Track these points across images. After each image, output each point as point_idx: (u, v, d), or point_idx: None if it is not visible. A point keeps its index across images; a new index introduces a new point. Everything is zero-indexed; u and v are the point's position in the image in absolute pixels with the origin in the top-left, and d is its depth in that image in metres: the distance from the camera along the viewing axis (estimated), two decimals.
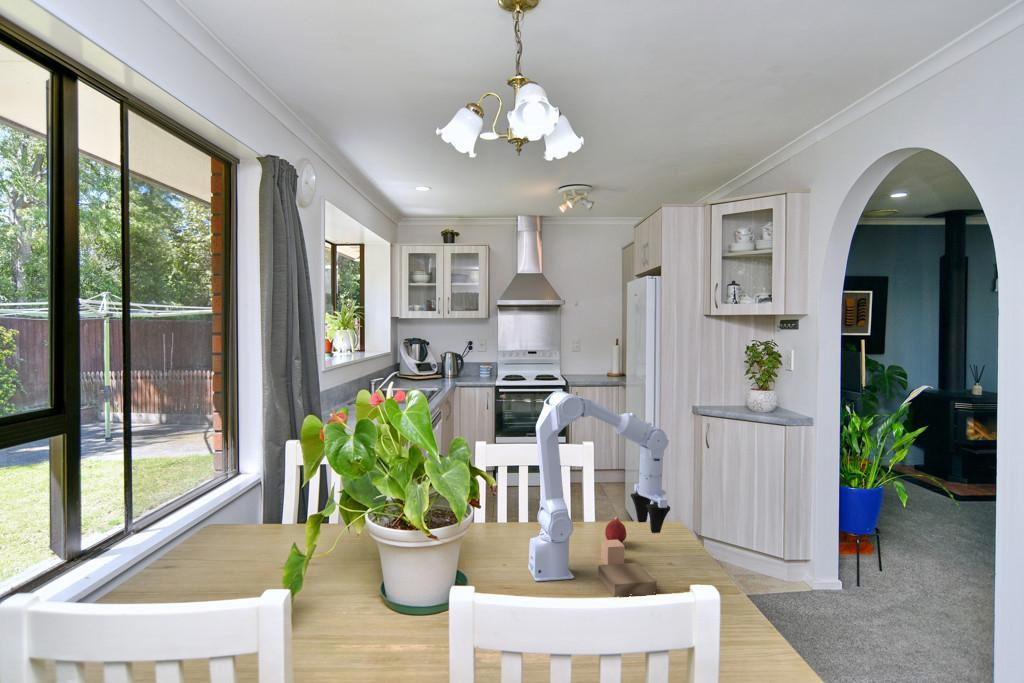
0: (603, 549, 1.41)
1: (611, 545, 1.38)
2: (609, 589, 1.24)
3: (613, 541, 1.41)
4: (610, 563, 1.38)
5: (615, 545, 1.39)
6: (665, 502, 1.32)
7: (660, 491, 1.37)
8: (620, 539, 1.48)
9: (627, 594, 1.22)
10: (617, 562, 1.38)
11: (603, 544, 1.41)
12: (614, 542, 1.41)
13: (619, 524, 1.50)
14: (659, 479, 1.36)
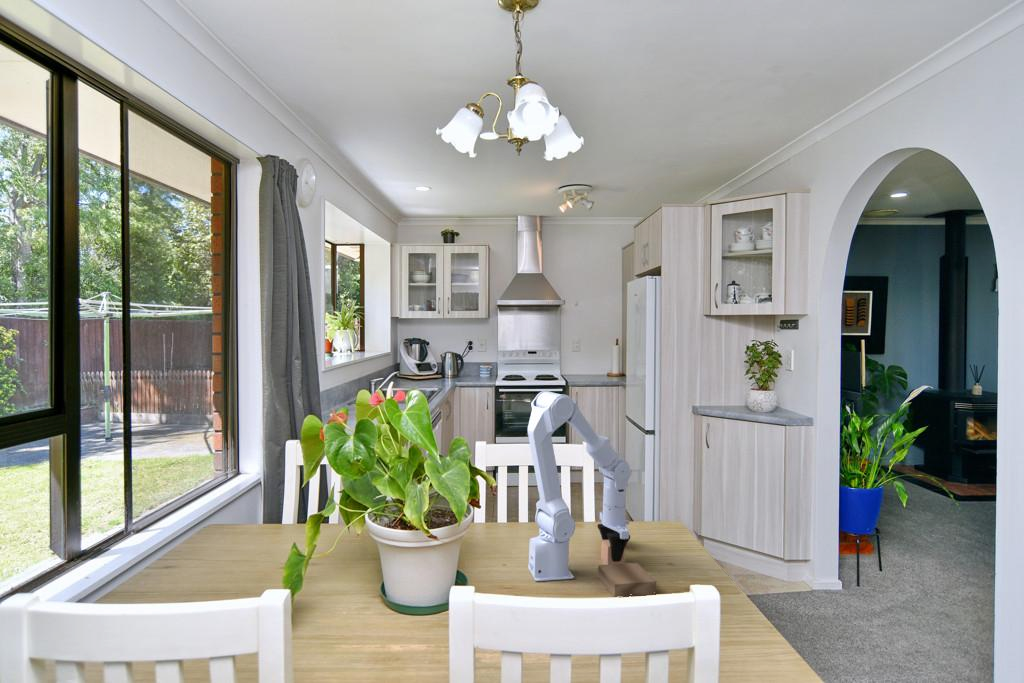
0: (603, 549, 1.41)
1: None
2: (609, 589, 1.24)
3: None
4: (610, 563, 1.38)
5: None
6: (627, 533, 1.33)
7: (623, 521, 1.38)
8: None
9: (627, 594, 1.22)
10: (617, 562, 1.38)
11: (603, 544, 1.41)
12: None
13: None
14: (622, 510, 1.38)
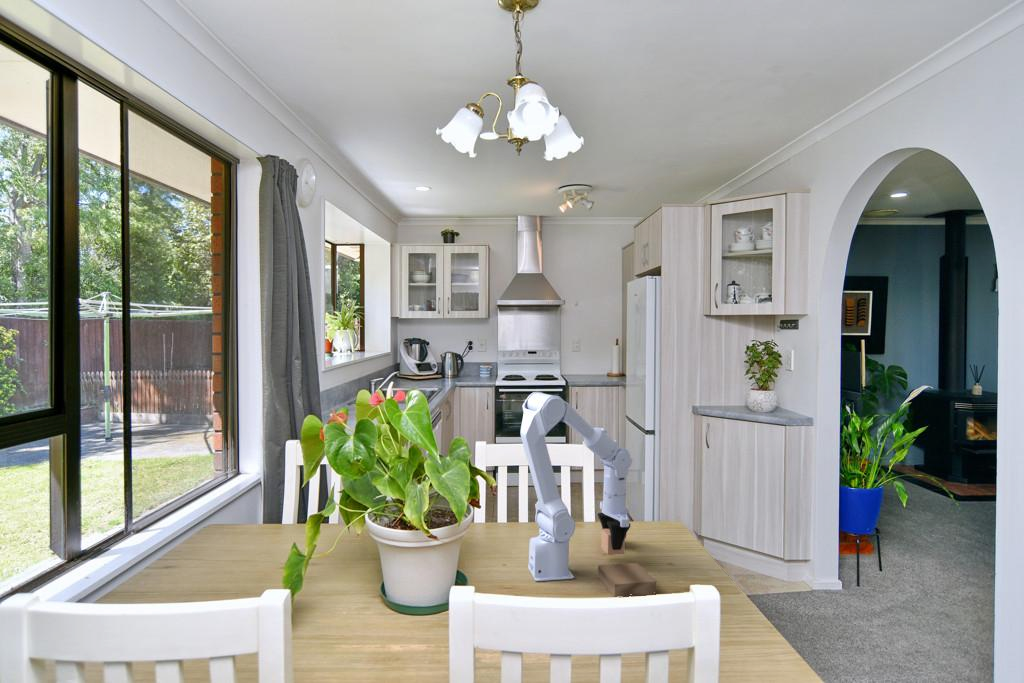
0: (603, 537, 1.41)
1: None
2: (609, 589, 1.24)
3: None
4: (610, 551, 1.38)
5: None
6: (627, 521, 1.33)
7: (623, 510, 1.38)
8: None
9: (627, 594, 1.22)
10: (617, 550, 1.38)
11: (603, 533, 1.41)
12: None
13: None
14: (622, 498, 1.38)
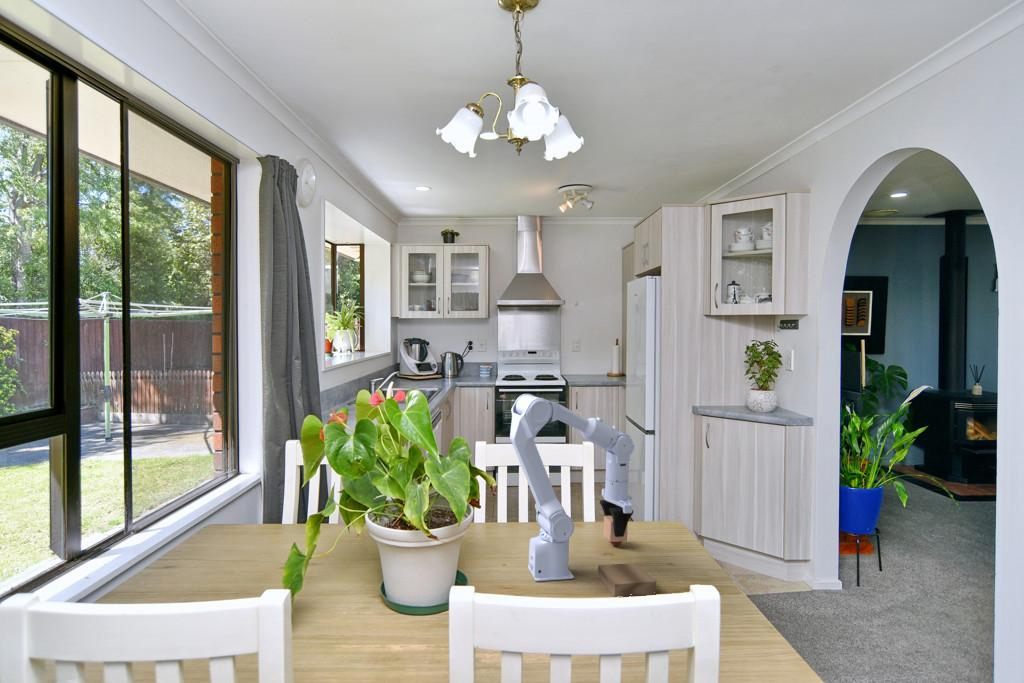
0: (605, 524, 1.39)
1: None
2: (609, 589, 1.24)
3: None
4: (613, 538, 1.36)
5: None
6: (630, 508, 1.31)
7: (626, 496, 1.36)
8: None
9: (627, 594, 1.22)
10: (620, 537, 1.36)
11: (605, 520, 1.39)
12: None
13: None
14: (625, 484, 1.36)
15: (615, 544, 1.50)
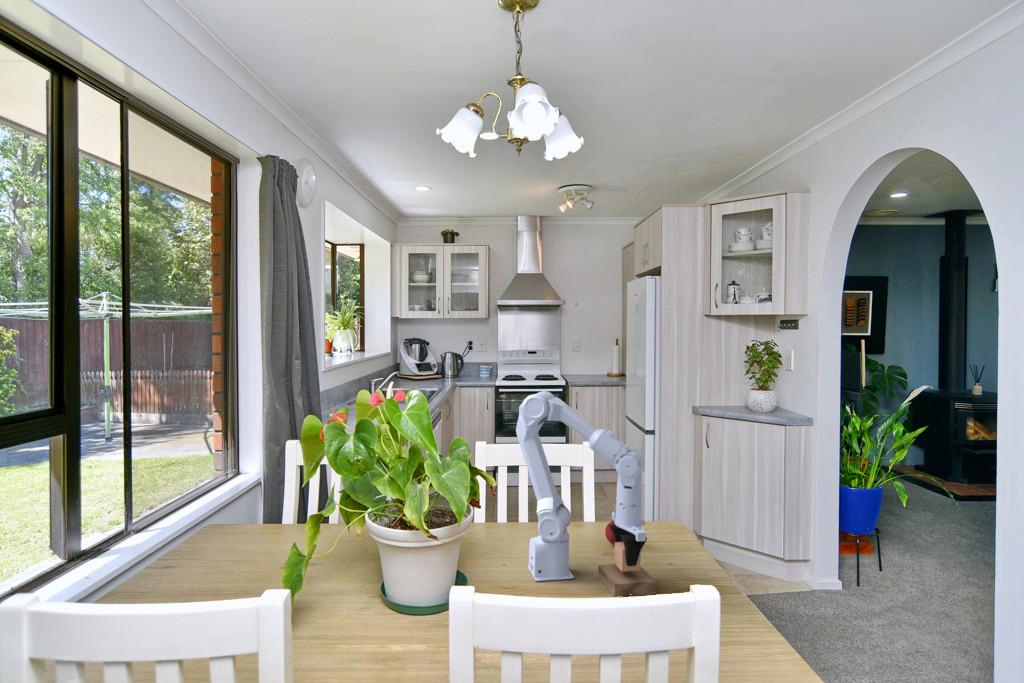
0: (616, 552, 1.27)
1: None
2: (609, 589, 1.24)
3: None
4: (625, 567, 1.25)
5: None
6: (643, 535, 1.20)
7: (639, 522, 1.25)
8: None
9: (627, 594, 1.22)
10: (632, 566, 1.25)
11: (616, 546, 1.28)
12: None
13: None
14: (637, 509, 1.25)
15: None
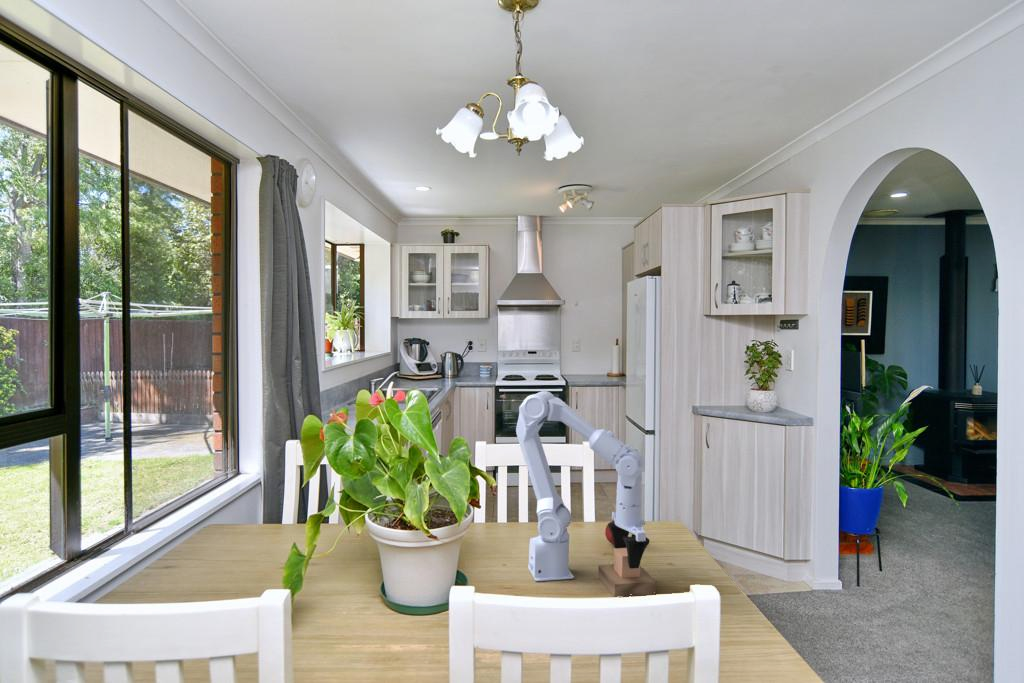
0: (616, 558, 1.27)
1: (626, 554, 1.25)
2: (609, 589, 1.24)
3: None
4: (624, 574, 1.25)
5: None
6: (643, 535, 1.20)
7: (639, 522, 1.25)
8: None
9: (627, 594, 1.22)
10: (632, 573, 1.25)
11: (616, 553, 1.28)
12: None
13: None
14: (637, 509, 1.25)
15: None
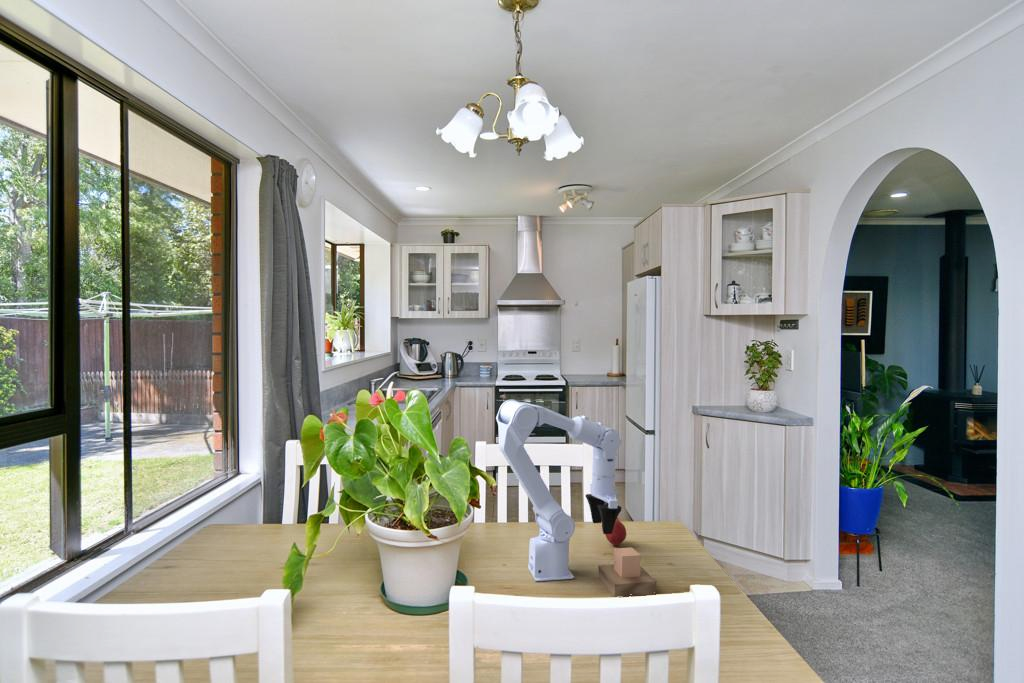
0: (616, 558, 1.27)
1: (626, 554, 1.25)
2: (609, 589, 1.24)
3: (627, 549, 1.28)
4: (624, 574, 1.25)
5: (629, 554, 1.26)
6: (615, 503, 1.31)
7: (612, 492, 1.36)
8: (620, 539, 1.48)
9: (627, 594, 1.22)
10: (632, 573, 1.25)
11: (616, 553, 1.28)
12: (628, 550, 1.28)
13: (619, 524, 1.50)
14: (611, 480, 1.35)
15: (615, 544, 1.50)
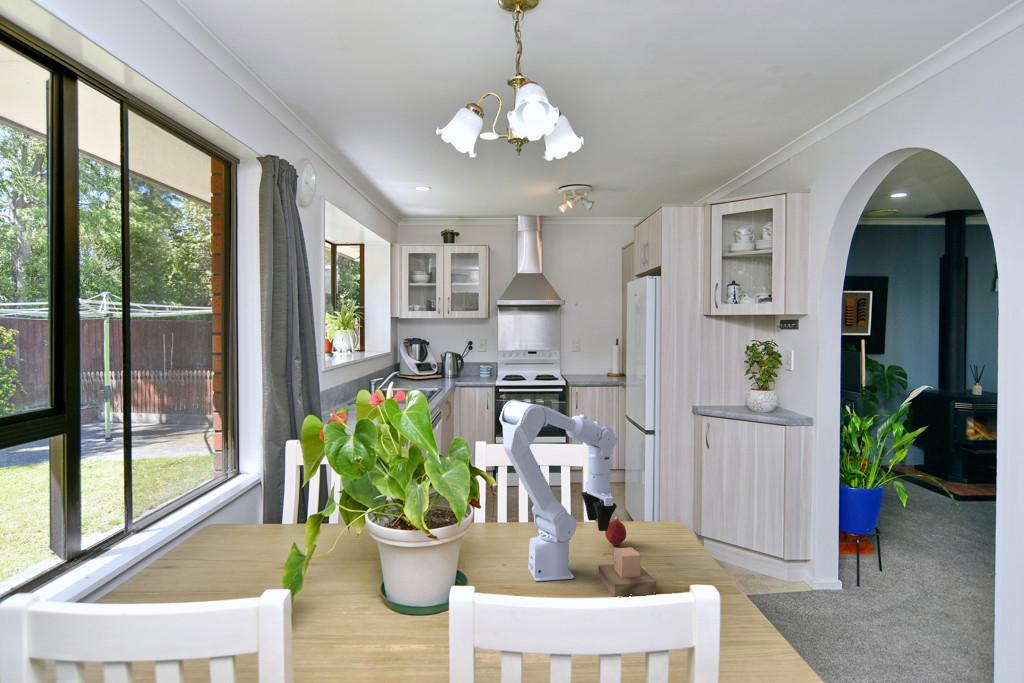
0: (616, 558, 1.27)
1: (626, 554, 1.25)
2: (609, 589, 1.24)
3: (627, 549, 1.28)
4: (624, 574, 1.25)
5: (629, 554, 1.26)
6: (611, 500, 1.33)
7: (608, 489, 1.38)
8: (620, 539, 1.48)
9: (627, 594, 1.22)
10: (632, 573, 1.25)
11: (616, 553, 1.28)
12: (628, 550, 1.28)
13: (619, 524, 1.50)
14: (606, 477, 1.38)
15: (615, 544, 1.50)
